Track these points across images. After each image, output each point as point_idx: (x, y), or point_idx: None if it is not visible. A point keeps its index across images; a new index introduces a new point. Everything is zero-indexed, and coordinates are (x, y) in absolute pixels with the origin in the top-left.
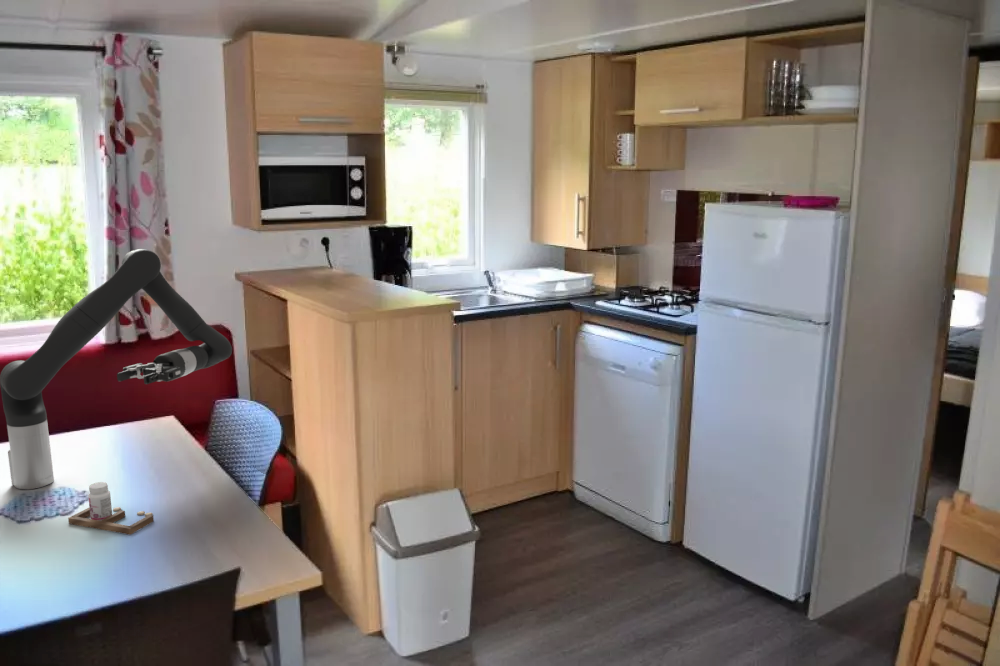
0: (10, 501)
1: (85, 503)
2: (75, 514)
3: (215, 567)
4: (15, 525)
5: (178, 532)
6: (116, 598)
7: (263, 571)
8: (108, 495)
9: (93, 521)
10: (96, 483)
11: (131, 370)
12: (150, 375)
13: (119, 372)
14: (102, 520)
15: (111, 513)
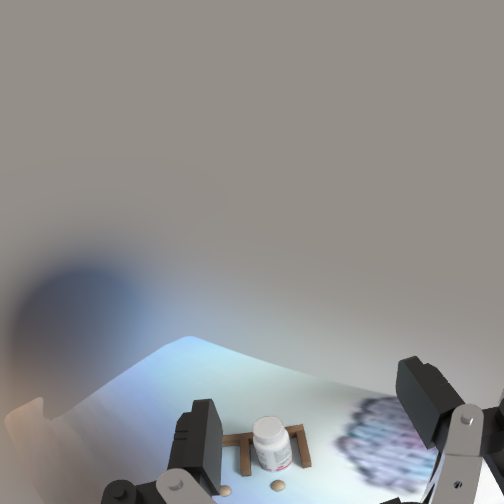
0: None
1: (355, 473)
2: (304, 433)
3: (69, 415)
4: (363, 394)
5: (132, 463)
6: (130, 368)
7: (33, 416)
8: (253, 442)
9: None
10: (277, 428)
11: (448, 431)
12: (190, 426)
13: (422, 363)
14: (245, 439)
15: (260, 463)
